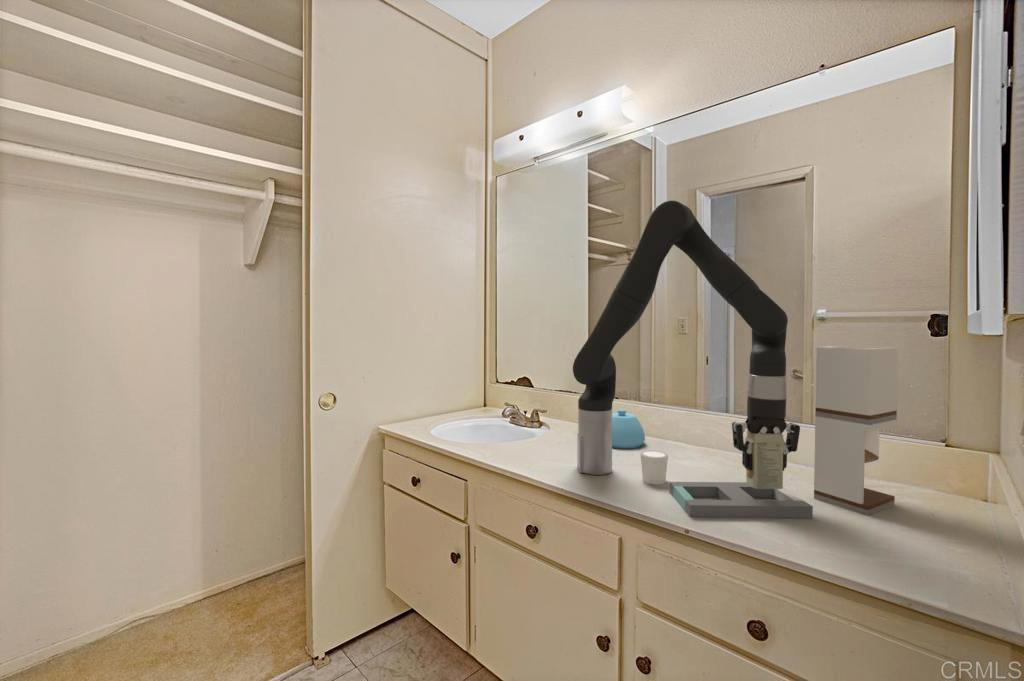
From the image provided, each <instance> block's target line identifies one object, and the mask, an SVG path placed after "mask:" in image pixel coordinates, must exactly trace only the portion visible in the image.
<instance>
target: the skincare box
mask: <svg viewBox="0 0 1024 681" xmlns="http://www.w3.org/2000/svg"><path fill="white" fill-rule="evenodd" d="M747 435H748V436H749V438H750V439H752V440H754V444H753V451H752V453H751V454H753V463H752V470H747V469H746V476H745V477H746V479H745V480H746V481H745V482H747V483H748V484H750V485H751V486H752V487H753V488H756V489H783V488H784V486H783V485H784V484H783V483H784V471H783V439H784V434H783V433H782V434H774V433H765V434H757V433H753V434H752V433H751V432H749V431H748V429H746V436H747ZM749 443H750V442H749Z"/></svg>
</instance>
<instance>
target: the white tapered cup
mask: <svg viewBox="0 0 1024 681" xmlns="http://www.w3.org/2000/svg"><path fill="white" fill-rule="evenodd" d="M640 461H641V474H642V481H643V482H644V483H647V484H650V485H663V484H664V485H665V483H666V480H667V472H668V471H667V470H668V461H669V455H668V453H666V452H663V451H661V450H659V451H658V450H643V451H641V452H640Z"/></svg>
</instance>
